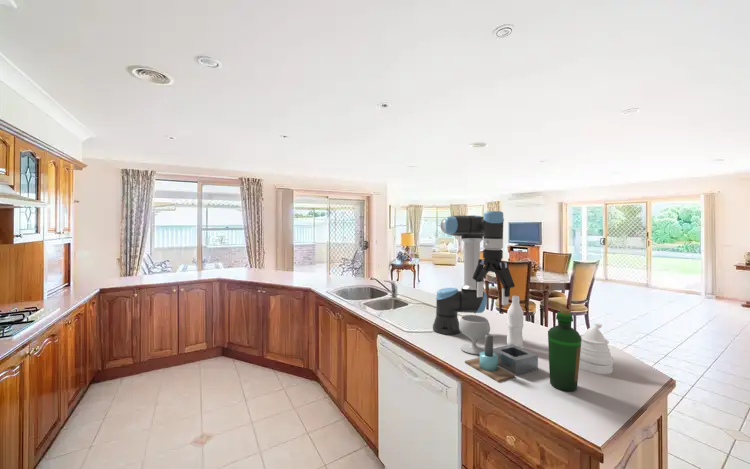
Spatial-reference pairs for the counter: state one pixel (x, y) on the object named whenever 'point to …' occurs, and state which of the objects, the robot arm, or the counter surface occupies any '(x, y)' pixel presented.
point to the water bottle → (515, 323)
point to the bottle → (564, 352)
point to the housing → (516, 359)
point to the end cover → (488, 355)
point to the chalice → (474, 332)
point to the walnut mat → (496, 375)
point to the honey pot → (595, 352)
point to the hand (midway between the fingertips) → (491, 300)
